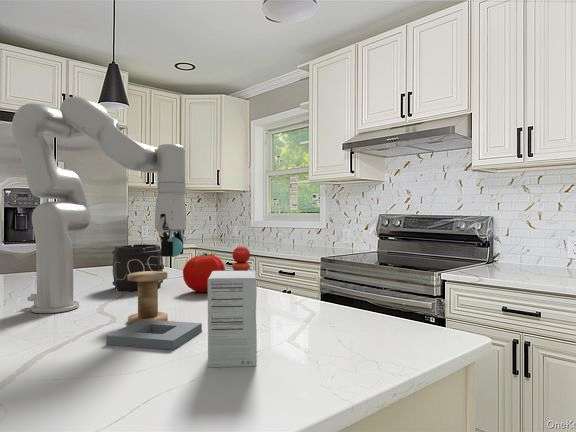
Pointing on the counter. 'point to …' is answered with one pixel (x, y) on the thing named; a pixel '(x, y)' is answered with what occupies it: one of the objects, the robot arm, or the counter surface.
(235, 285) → the supplement box
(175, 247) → the teal ball
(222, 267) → the tomato
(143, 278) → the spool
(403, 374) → the counter surface
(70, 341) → the counter surface
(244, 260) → the stacking toy
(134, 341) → the square hole board
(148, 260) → the black lettered canister
